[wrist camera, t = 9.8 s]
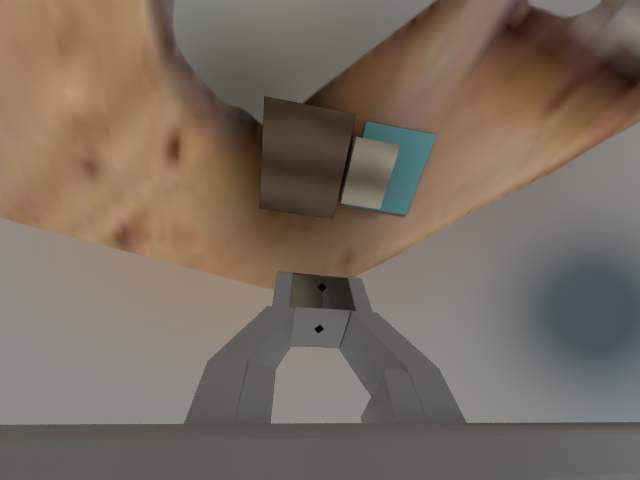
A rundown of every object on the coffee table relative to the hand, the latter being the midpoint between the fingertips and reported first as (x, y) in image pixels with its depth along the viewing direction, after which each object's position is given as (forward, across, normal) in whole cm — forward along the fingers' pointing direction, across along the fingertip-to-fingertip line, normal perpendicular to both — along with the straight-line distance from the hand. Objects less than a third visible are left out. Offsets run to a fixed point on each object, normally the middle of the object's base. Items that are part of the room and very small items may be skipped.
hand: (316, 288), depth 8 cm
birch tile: (+27, -9, +2) cm, 28 cm away
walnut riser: (+27, 0, +1) cm, 27 cm away
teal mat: (+27, -12, +1) cm, 30 cm away
